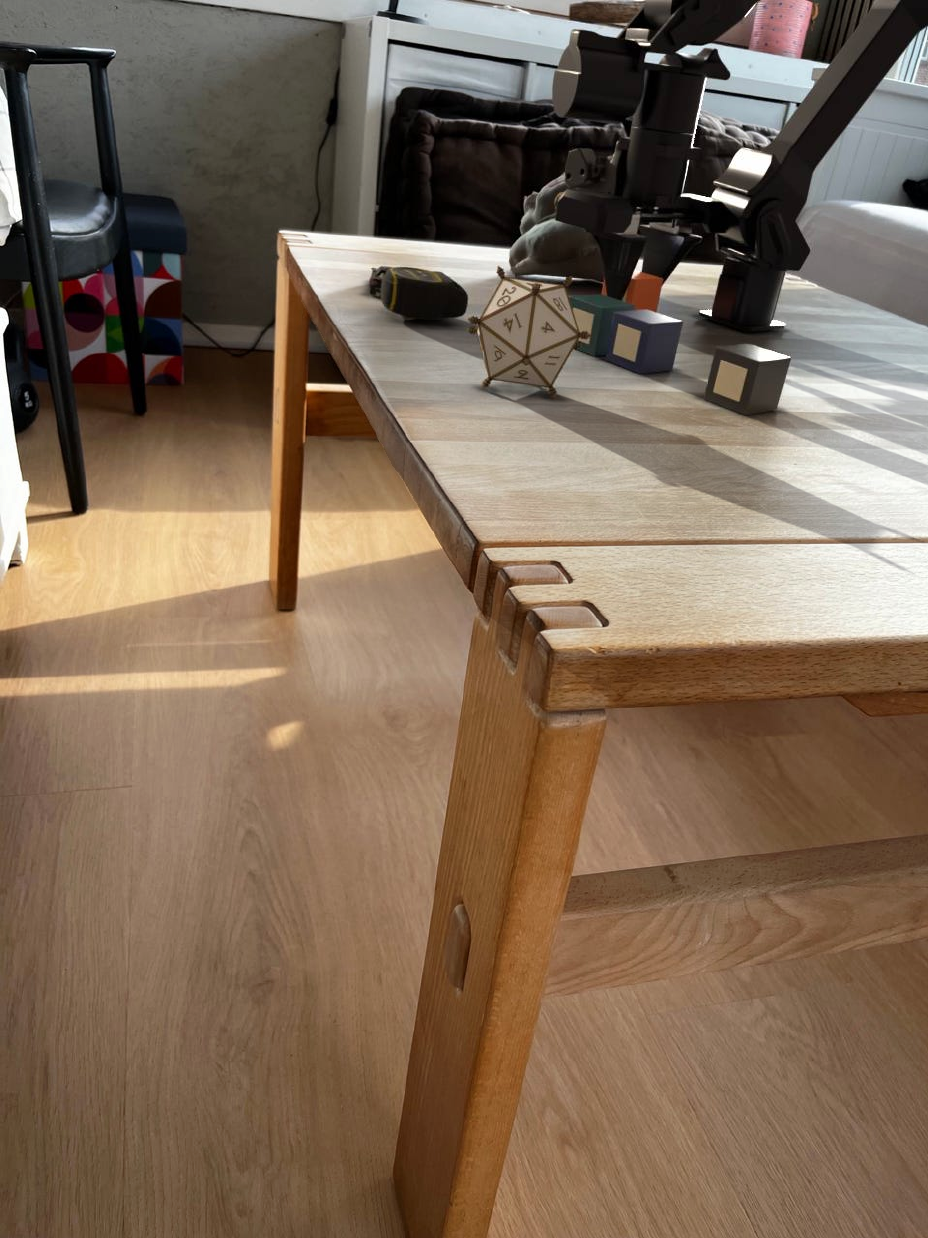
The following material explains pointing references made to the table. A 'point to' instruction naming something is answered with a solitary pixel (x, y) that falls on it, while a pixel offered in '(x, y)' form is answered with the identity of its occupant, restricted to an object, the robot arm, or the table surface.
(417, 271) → the tape measure
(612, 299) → the block
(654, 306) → the loose block
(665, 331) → the block
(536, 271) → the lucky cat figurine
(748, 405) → the block
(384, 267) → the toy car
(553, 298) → the game die
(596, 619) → the table surface
